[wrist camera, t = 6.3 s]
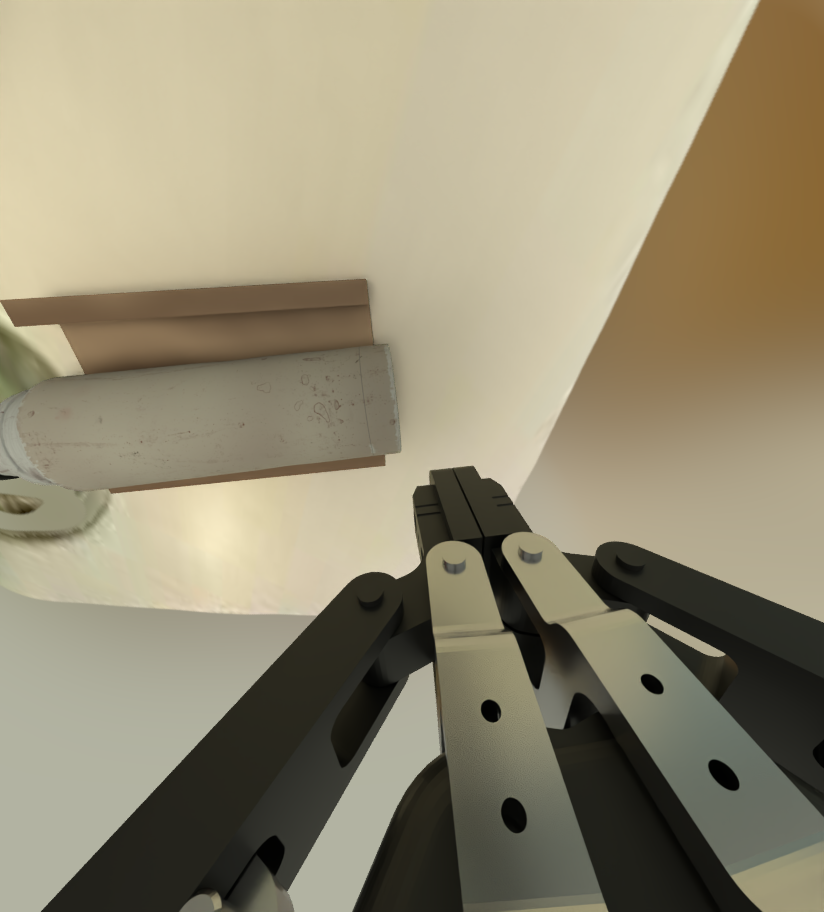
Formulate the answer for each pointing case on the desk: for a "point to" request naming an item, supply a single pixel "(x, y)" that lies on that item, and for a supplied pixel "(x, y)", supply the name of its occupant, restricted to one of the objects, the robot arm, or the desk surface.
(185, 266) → the desk surface
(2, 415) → the thermos bottle
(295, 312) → the walnut trough
